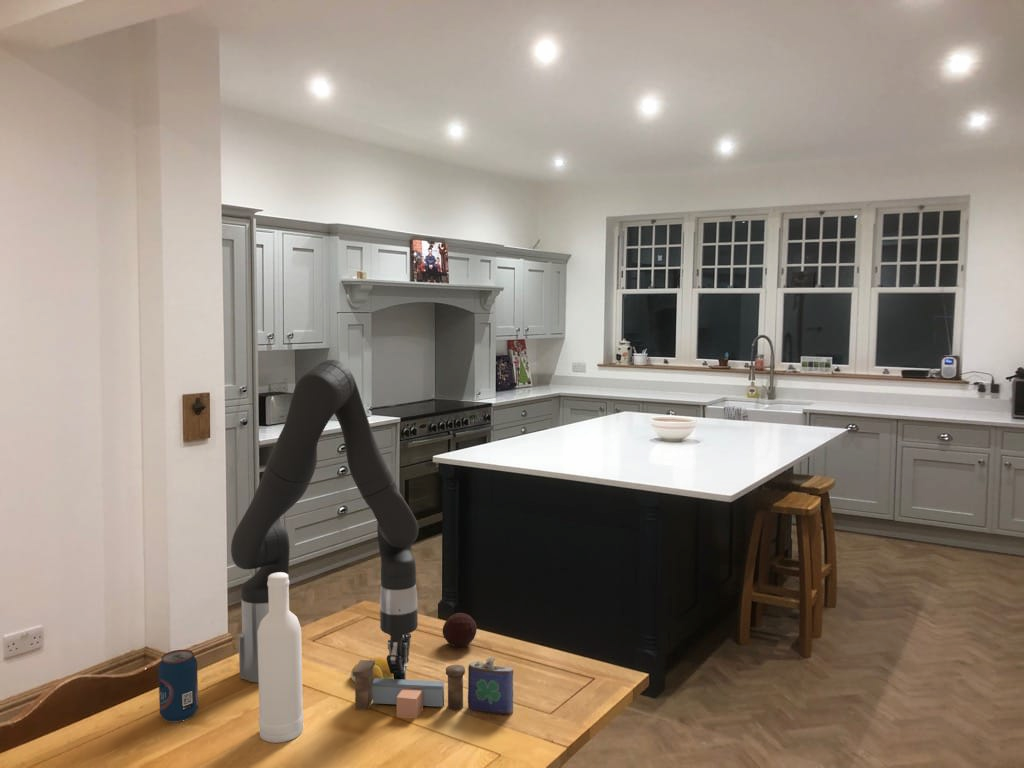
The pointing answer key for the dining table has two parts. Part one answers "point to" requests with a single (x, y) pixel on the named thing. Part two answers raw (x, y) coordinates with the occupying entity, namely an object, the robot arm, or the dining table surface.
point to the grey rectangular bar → (390, 688)
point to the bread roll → (378, 669)
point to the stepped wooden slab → (363, 684)
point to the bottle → (280, 666)
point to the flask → (490, 688)
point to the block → (409, 703)
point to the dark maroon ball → (459, 630)
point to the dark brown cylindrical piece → (455, 686)
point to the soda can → (178, 685)
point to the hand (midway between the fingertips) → (399, 688)
